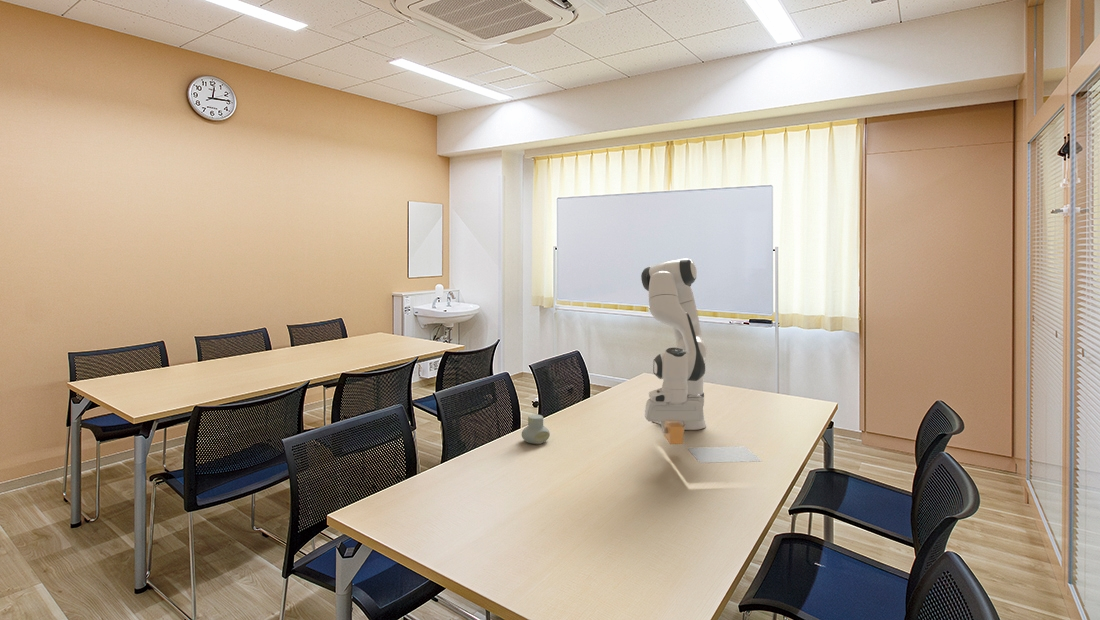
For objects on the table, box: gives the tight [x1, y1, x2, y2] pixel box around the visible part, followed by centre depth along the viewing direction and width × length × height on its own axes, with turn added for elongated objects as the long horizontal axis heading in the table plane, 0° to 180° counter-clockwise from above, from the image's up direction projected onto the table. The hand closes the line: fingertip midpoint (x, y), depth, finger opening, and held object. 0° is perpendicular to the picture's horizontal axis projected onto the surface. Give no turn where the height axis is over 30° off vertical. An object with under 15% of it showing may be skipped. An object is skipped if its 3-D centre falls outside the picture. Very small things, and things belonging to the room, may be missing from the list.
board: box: [686, 445, 762, 464], centre depth 194 cm, size 22×14×2 cm, turn 94°
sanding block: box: [663, 421, 685, 445], centre depth 192 cm, size 9×4×6 cm, turn 2°
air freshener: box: [521, 414, 551, 445], centre depth 210 cm, size 11×8×10 cm
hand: (673, 432), depth 193 cm, fingers closed on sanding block, 4 cm apart
